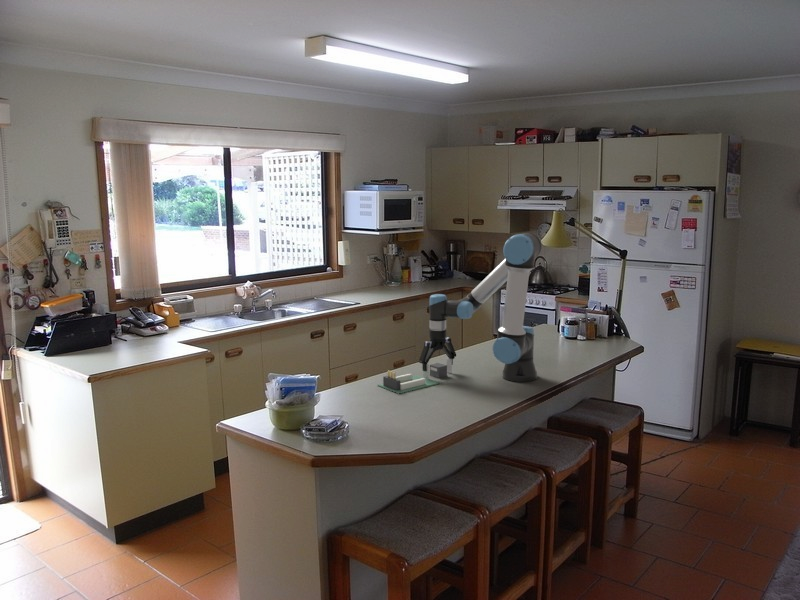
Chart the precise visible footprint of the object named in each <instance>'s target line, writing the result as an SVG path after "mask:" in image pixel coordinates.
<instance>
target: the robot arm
mask: <svg viewBox="0 0 800 600" xmlns="http://www.w3.org/2000/svg"><path fill="white" fill-rule="evenodd" d="M542 249H543V244H542V240H541V238H540V237H539V236H538V235H536V234H535V233H533V232H523V233H516V234H514V235H512V236H510V237H509V238H508V239H507V240H506V241H505V243H504V245H503V249H502V250H503V257H504V259H503V260H502V261H501V262H500V263H499V264H498V265H497V266H495V268H494V269H493V270H491V272H490V273H489V274H488V275H487V276H485V278H484V279H483V280H482V281H480V283H478V285H476V286H475V288H473V289H472V290H471V292H469V293H468V294H467V295H466V296H465V297H464V298H460V299H458V300H453V299H452V300H450V299H448V297H447V295H446V294H442V293H435V294H431V295H430V296H429V304H428V306H429V309H428V310H429V330H428V331H429V333H428V334H429V336H428V337H429V341H427V340H425V341H424V342H423V343H424V344H423V348H422V352H421V353H420V357H419V359H418V363H420V364H422V371H423V377H424V378H427V379H430V378H429V377H430V364H429V362H430V360H431V358H432V356H433V355H434V353H435V352H436V351H439V350H440V351H441V350H442V351H443V353H444V354H445V355H446V365H447V374H448V373H449V374H452V373H453V363H454V361H453V360H454V359H455V358H456V357H457V353H456V350H455V348H454V346H453V343H452V338H451V337H448V336H447V318H453V319H460V320H467V319H468V320H469V319H471V318H472V316H473V315H474V313H476V312H477V311H478V310H480V309H481V306H482V305H483V304H484V303H485V302H487V300H488V299H489V298H490V297H492V295H494V294H495V293H496V292H497V291H498V290H499V289H500V288H501V287H502V286H503V285H504V284H505V283H506V289H505V296H504V297H505V298H504V305H503V315H502V323H501V326H500V327H498V329H497V333H496V334H497V336H496V340H495V341H494V342H493V344H492V353H493V356H494V357H495V359H497V360H498V361H499V362H500V363H503V364H504V367H503V369H502V374H501V375H502V376H501V377H502V378H503V379H504V380H506V381H509V380H510V382H515V381H516V382H517V383H519V382H520V383H525V382H533V381H536V380H537V379H538V372H537V370H536V366H535V363H534V346H535V345H534V344H535V343H534V341H535V331H534V328H533V327H530V326H525V325H524V320H525V312H526V302H527V294H528V288H529V286H528V285H529V278H530V272H531V271H532V270H534V268H535V260H536V258H537V257H538V256H540V254H541V252H542ZM535 379H536V380H535Z"/></svg>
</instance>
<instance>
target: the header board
mask: <svg viewBox="0 0 800 600" xmlns="http://www.w3.org/2000/svg"><path fill="white" fill-rule="evenodd" d="M382 378H383V379H382V383H378V384H377V387H379V386H380V388H382V387H383V388H382V389H384V388H385V390H387V389H388V390H387V391H389V390H390V392H392V391H393V392H392V393H395V392H396V393H395V394H397V393H401V394H404V392H405V393H409V392H412V390H413V391H417V390H420V389H425V388H429V387H433V386H437V385H440V382H439V381H436V380H432V379H430V378H429V379H427V378H424V376H422V375H418V374H417V375H413V374H412V373H406V374H402V375H398V376H396V372H395V371H392V370H390V369H389V370H387V375H385V376H383V377H382ZM408 391H409V392H408Z"/></svg>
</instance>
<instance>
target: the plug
mask: <svg viewBox="0 0 800 600" xmlns="http://www.w3.org/2000/svg"><path fill="white" fill-rule="evenodd" d="M429 376H431V377H434V378H437V379H440V378H446V377H448V372H447V364H443V363H440V362H436V363H432V364H429Z"/></svg>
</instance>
